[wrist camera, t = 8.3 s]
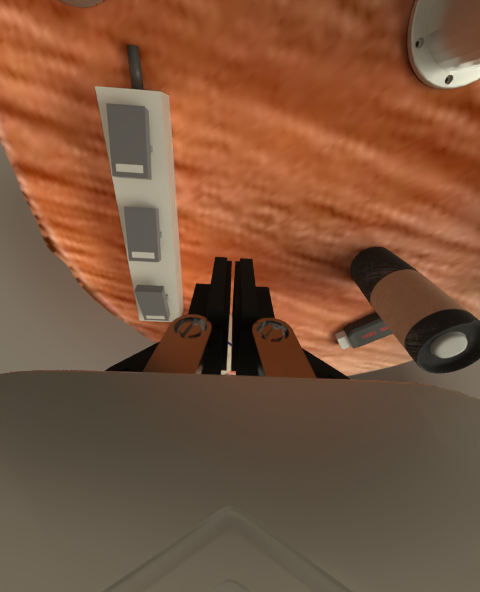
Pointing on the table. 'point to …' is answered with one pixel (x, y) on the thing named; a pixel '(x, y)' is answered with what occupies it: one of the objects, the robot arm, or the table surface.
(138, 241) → the rocker middle
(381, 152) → the table surface
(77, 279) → the table surface
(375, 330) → the usb drive
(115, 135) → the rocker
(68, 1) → the planter
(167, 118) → the power strip
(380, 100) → the table surface
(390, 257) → the travel mug
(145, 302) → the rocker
